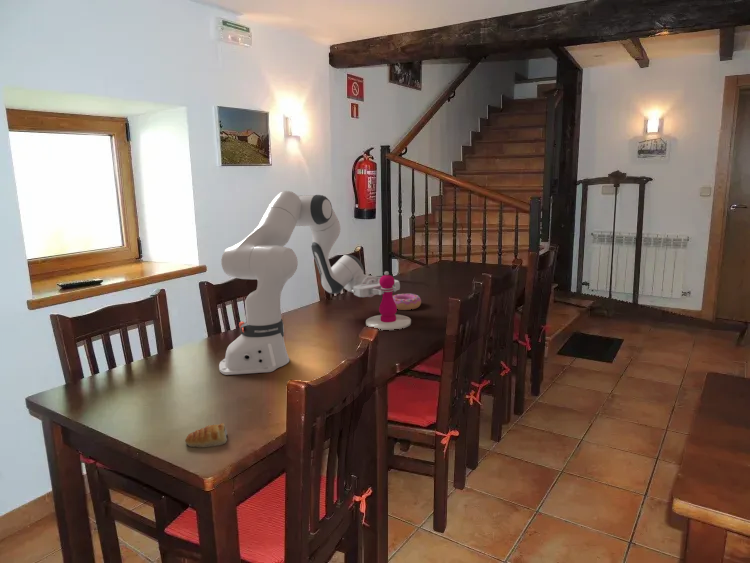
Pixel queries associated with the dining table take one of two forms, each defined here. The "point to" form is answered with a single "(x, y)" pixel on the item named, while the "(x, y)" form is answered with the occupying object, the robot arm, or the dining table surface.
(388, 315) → the pepper mill
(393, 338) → the dining table surface
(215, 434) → the pastry
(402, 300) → the donut
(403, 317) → the trivet
